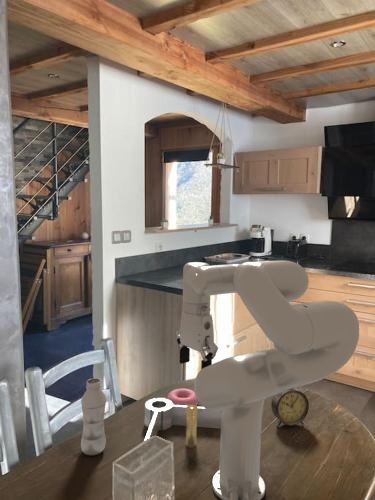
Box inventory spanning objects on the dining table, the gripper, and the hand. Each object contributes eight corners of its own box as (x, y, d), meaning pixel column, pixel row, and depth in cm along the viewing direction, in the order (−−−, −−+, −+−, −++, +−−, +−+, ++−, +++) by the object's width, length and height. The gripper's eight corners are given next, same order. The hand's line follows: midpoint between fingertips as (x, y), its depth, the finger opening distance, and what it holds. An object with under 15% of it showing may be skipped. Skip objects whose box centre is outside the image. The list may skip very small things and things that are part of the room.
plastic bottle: (76, 450, 112) (76, 380, 110) (99, 441, 116) (99, 373, 114) (87, 462, 107) (87, 388, 105) (110, 452, 111) (110, 382, 109)
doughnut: (173, 394, 146) (173, 383, 146) (203, 400, 143) (203, 389, 142) (161, 409, 136) (161, 397, 136) (192, 415, 132) (193, 403, 132)
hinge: (221, 469, 106) (222, 447, 105) (129, 461, 108) (130, 439, 107) (223, 420, 129) (223, 402, 129) (148, 414, 132) (148, 397, 131)
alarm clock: (275, 431, 124) (278, 379, 122) (268, 421, 129) (270, 372, 128) (308, 427, 127) (311, 376, 125) (299, 418, 132) (302, 369, 130)
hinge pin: (195, 448, 114) (197, 410, 113) (185, 447, 115) (186, 409, 114) (196, 441, 117) (197, 405, 116) (186, 441, 118) (187, 404, 116)
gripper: (228, 312, 108) (226, 375, 110) (188, 300, 122) (186, 356, 123) (206, 316, 103) (204, 382, 105) (167, 303, 117) (166, 361, 119)
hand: (195, 367), depth 114 cm, fingers open, 9 cm apart
